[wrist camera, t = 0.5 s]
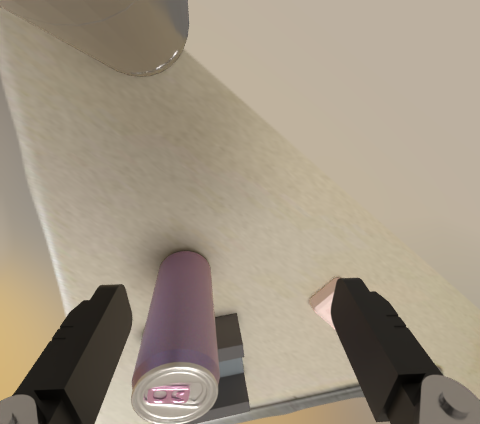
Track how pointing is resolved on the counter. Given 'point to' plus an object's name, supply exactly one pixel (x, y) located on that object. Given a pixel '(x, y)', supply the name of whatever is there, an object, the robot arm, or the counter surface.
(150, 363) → the beverage can
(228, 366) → the duct channel
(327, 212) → the counter surface
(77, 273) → the counter surface
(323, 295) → the soap bar
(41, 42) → the counter surface
